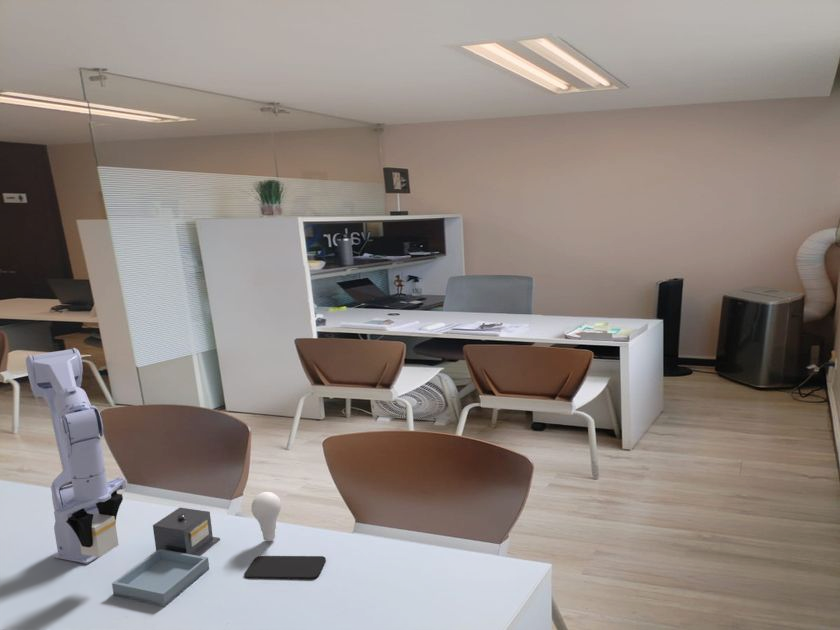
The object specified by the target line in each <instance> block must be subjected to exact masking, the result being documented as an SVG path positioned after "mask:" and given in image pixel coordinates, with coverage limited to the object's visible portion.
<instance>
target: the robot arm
mask: <svg viewBox="0 0 840 630" xmlns="http://www.w3.org/2000/svg"><path fill="white" fill-rule="evenodd" d="M25 365H26V371H27V376H28V379H29V383H30V384H29V385H30V389H31V392H33V396H34V397H39V398H43V400H44V402H45V403H46V405H47V406H48V409H49V414H50V418H51V422H52V427H53V431H54V436H55V441H56V446H57V449H58V455H59V459H60V463H61V468H62V471H61V472H60V474H59V475H58V476H57V477H56V478H54V480H53V481H52V482H51V485H50V490H51V499H52V505H53V509H54V511H53V516H54V520H55V522H54V526H53V527H54V528H53V529H54V530H53V531H54V537H55V542H56V547H57V550H56V551H57V553H55V554H54V558H55V559H61V560H65V561H71V562H75V563H81V564H84V565H85V564H90V563H91V562H92V561H94V560H96V559H98V557H95V556H90V555H84V554H82V553H81V546H80V543H81V545H82V546H83V547H91V546H93V537H92V520H93V516H94V515H95V514H103V515H109V516H114V517H115V521H117V517H118V516H117V515H118V512H119V510H120V506H121V504H122V502H123V500H124V498H123V494H121V493H118V491H121V490H122V491H123V490H125V489H127V481H126V478H123V477H122V478H121V477H117V478H114V479H112V480H109V481H108V480H107V473H106V466H105V460H104V452H103V445H102V437H103V436H104V425H103V420H102V416H101V414H100V410H99V409H98V408H97V406H95V405H92V404H91V402H90V400H89V397H88V395H87V393H86V391H85V390H84V389H83V388H81V387H82V382H83V373H84V369H83V368H84V367H83V360H82V356H81V353H80V351H79V349H77V348H76V347H73V348H70V349H64V350H57V351H52V352H51V351H50V352H45V353H38V354H28V355H27V356H26V358H25Z"/></svg>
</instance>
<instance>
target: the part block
mask: <svg viewBox="0 0 840 630" xmlns="http://www.w3.org/2000/svg"><path fill="white" fill-rule="evenodd" d="M116 521H117V520H116ZM116 521H115V517H114V516H109V515H103V514H95V515H94V516H93V520H92V537H93V546H91V547H83V546H82V545H81V543H80V546H81V553H82V554H84V555H90V556H95V557H97V558H101V557H102V556H104V555H105V554H107V553H109V552H110V551H112V550H113V549H115V548H116V547H118V546H119V538H118V532H117V526H116V525H117V522H116Z"/></svg>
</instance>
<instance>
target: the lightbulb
mask: <svg viewBox="0 0 840 630" xmlns="http://www.w3.org/2000/svg"><path fill="white" fill-rule="evenodd" d="M281 508H282V503H281V499H280V498H279V496H278V495H277V494H276V493H273V492H271V491H263V492H261V493H260V492H259V494H257V495H256V496H255V497H254V498H253V499H252V502H251V512H252V515H253V517H254V518H255V520H257V522H258V524H259V526H260V527H259V528H260V531H261V532H262V539H263V540H264V541H265V542H272V541H273V540H275V538H276V528H277V519H278V517H279V514H280V512H281Z"/></svg>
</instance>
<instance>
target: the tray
mask: <svg viewBox="0 0 840 630" xmlns="http://www.w3.org/2000/svg"><path fill="white" fill-rule="evenodd" d="M154 552H155V553H154ZM154 552H153V553H151V554H152V555H151V554H150V555H149V556H147V557H146V558H145V559H143V560H142V561H141V562H139V563H138V564H136V565H135V566H134V567H133V568H131V569H130V570H128V571H127V572H126V573H124V574H123V575H121V576H120V577H119V578H118V579H116V580H114V581H113V582H111V587H112V592H113V593H112V594H113V596H114V597H119V598H124V599H128V600H133V601H137V602H144V603H148V604H152V605H157V606H162V607H166V606H168V605H169V604H170V603H171V602H172V601H174V600H175V599H177V597H178V596H180V595H181V594H182V593H183V592H184V591H185V590H186V589H188V588H189V587H190V586H191V585H192V584H194V583H195V582H196V581H197V580H198V579H200V578H201V577H202V576H203V575H204V574H205V573H207V572H208V571H209V570H210V563H209V557H206V556H202V555H201V556H197V555H191V554H185V553H180V552H174V551H168V550H163V549H159V550H157V551H156V550H155V551H154Z"/></svg>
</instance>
